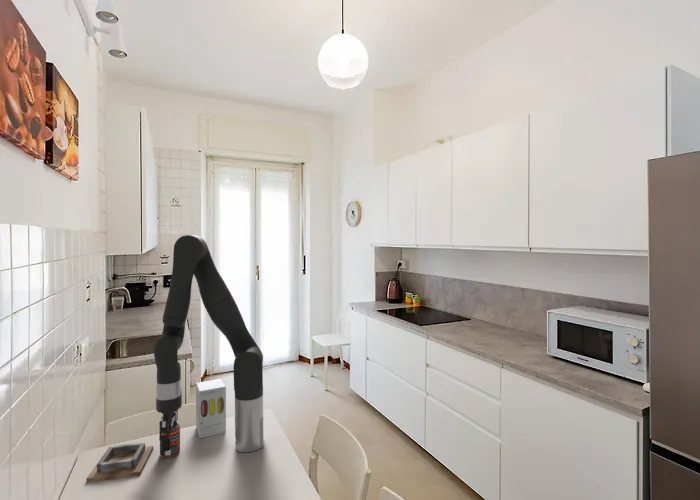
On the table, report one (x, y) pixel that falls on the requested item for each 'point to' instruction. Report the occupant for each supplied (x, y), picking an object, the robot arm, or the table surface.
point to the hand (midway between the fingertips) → (169, 443)
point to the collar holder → (121, 462)
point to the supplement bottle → (172, 442)
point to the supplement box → (210, 408)
